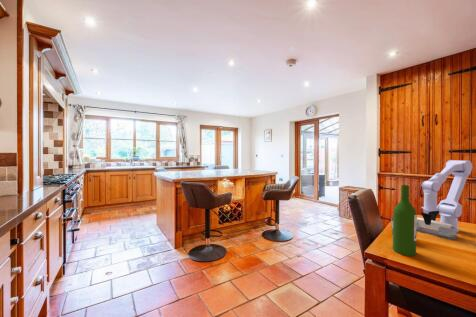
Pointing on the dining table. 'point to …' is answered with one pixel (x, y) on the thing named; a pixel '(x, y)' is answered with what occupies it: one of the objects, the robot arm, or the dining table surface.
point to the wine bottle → (404, 225)
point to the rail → (433, 224)
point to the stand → (440, 232)
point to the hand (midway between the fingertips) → (429, 223)
